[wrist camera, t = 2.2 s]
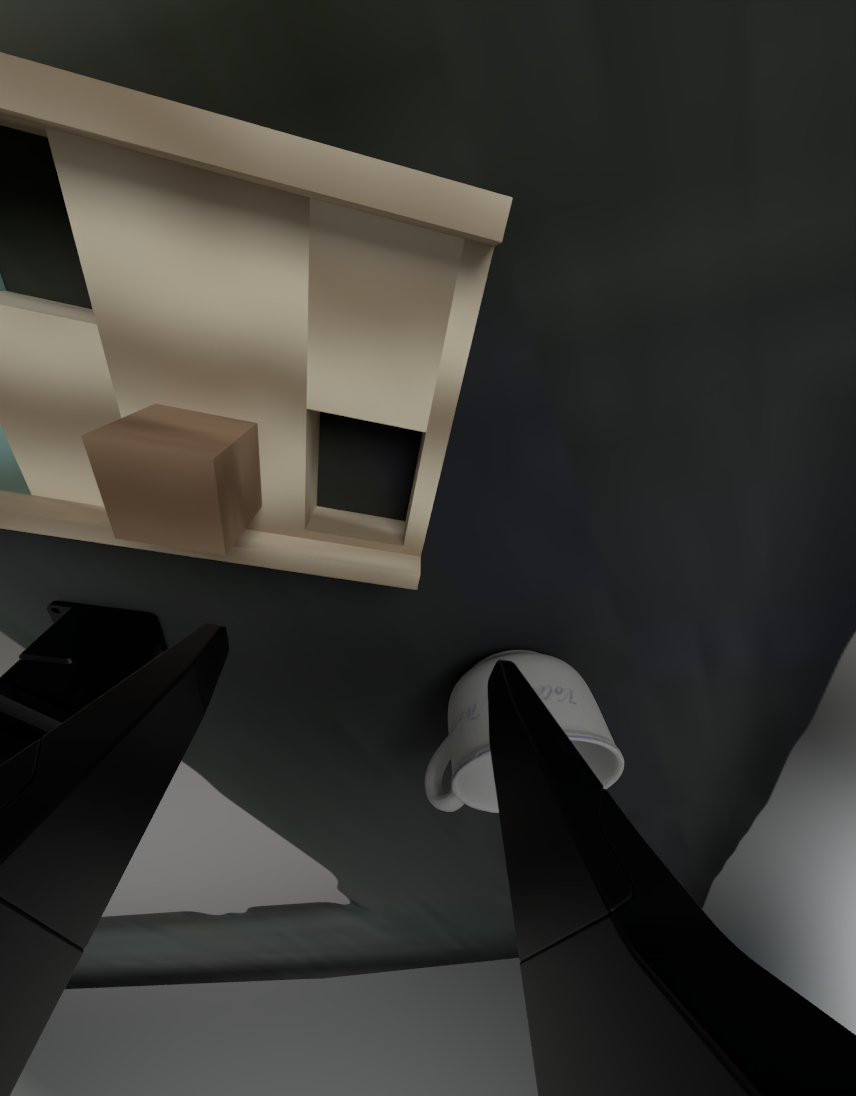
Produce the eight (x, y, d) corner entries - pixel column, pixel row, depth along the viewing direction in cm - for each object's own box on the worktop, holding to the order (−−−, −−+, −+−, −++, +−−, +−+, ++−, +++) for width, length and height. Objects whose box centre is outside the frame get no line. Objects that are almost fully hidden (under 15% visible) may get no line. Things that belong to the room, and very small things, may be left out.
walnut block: (262, 506, 18) (225, 555, 15) (173, 491, 17) (115, 538, 14) (257, 423, 16) (212, 459, 12) (155, 403, 15) (81, 435, 12)
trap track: (417, 545, 22) (416, 596, 19) (-81, 464, 19) (-201, 506, 15) (491, 218, 14) (516, 193, 10) (-374, -19, 11) (-790, -179, 7)
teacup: (558, 609, 25) (604, 721, 19) (597, 692, 31) (643, 801, 24) (385, 671, 29) (373, 783, 23) (447, 735, 35) (452, 840, 28)
